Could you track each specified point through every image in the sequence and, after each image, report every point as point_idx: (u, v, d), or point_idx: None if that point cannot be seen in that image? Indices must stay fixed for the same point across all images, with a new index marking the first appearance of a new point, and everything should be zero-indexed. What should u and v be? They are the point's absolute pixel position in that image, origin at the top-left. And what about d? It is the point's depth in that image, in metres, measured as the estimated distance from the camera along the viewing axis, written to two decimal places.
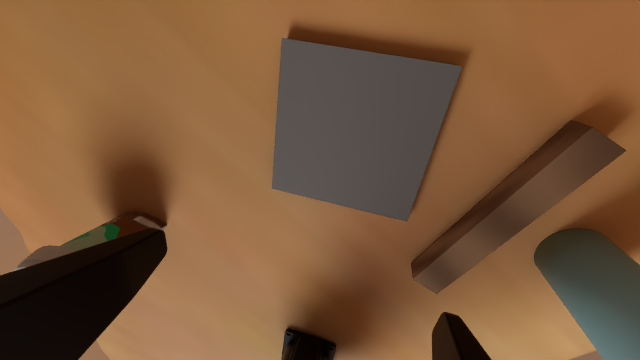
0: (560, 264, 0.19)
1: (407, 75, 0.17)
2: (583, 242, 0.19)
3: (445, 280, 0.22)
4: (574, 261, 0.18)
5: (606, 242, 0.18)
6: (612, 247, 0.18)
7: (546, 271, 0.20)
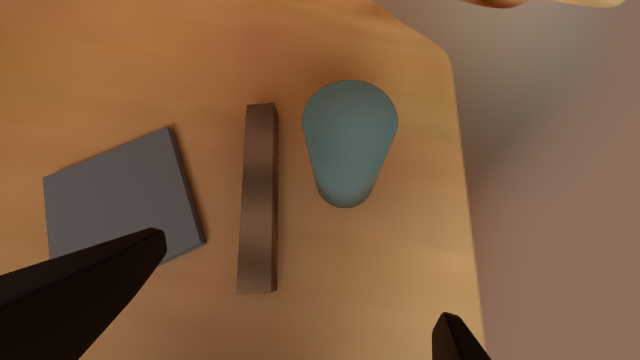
0: None
1: (137, 148, 0.24)
2: None
3: (264, 267, 0.19)
4: None
5: None
6: None
7: (323, 194, 0.21)
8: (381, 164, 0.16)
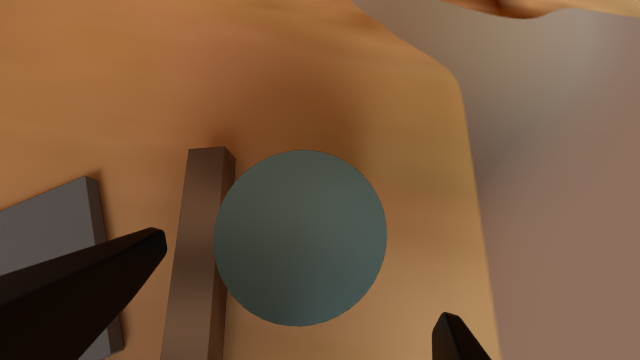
0: None
1: (42, 207, 0.18)
2: None
3: None
4: None
5: None
6: None
7: None
8: None
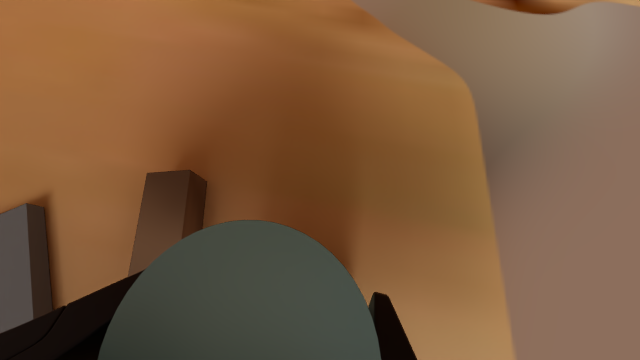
0: None
1: None
2: None
3: None
4: None
5: None
6: None
7: None
8: None
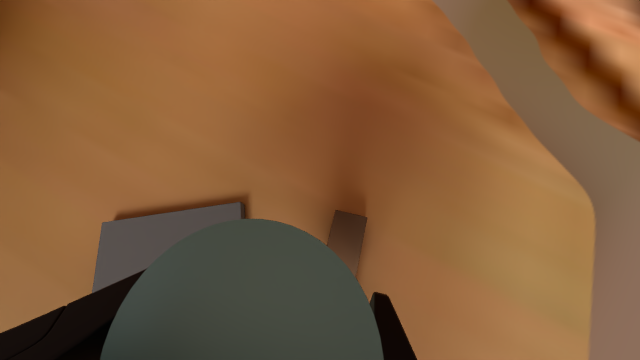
0: None
1: (204, 219, 0.22)
2: None
3: None
4: None
5: None
6: None
7: None
8: None
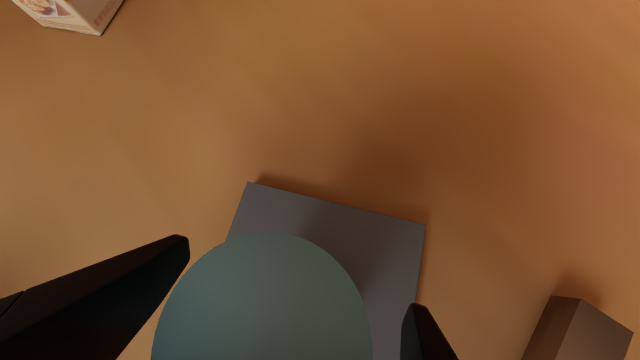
0: None
1: (372, 228, 0.16)
2: None
3: None
4: None
5: None
6: None
7: None
8: None
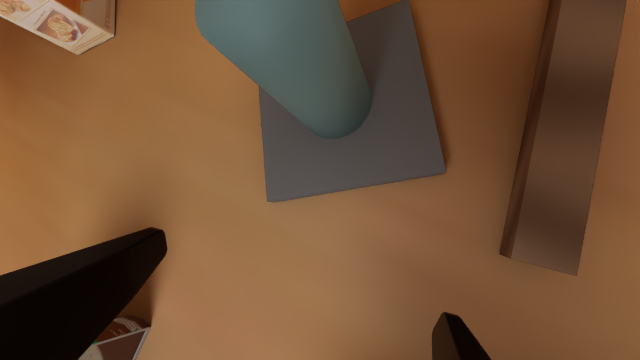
0: None
1: (365, 28, 0.18)
2: None
3: (569, 236, 0.12)
4: None
5: None
6: None
7: (312, 128, 0.17)
8: (340, 34, 0.11)
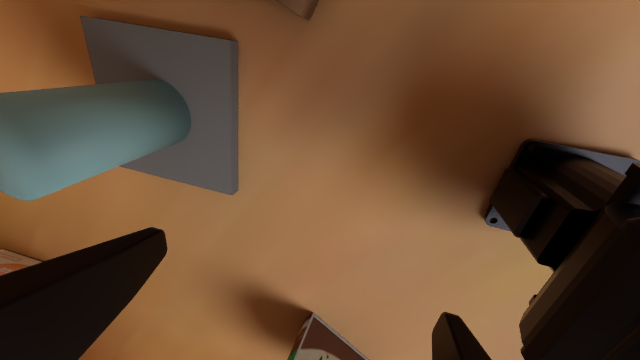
0: (154, 151, 0.19)
1: (102, 64, 0.20)
2: None
3: None
4: None
5: None
6: None
7: (171, 139, 0.19)
8: (64, 97, 0.13)
